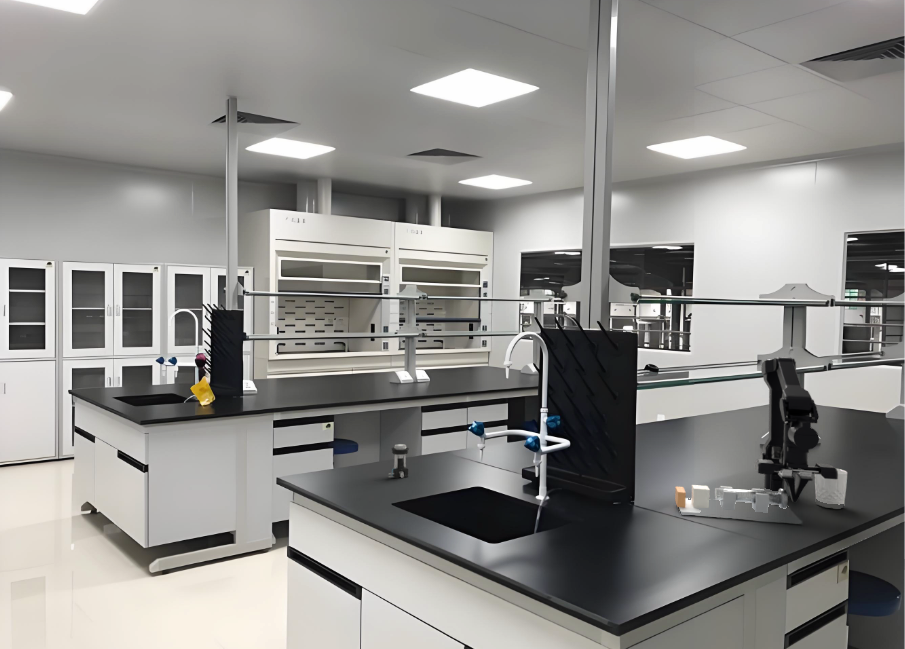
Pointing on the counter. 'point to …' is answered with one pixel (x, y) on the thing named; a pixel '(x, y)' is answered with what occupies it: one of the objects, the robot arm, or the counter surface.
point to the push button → (399, 461)
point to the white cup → (831, 488)
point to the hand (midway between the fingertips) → (794, 501)
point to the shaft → (750, 495)
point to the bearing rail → (722, 501)
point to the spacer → (700, 496)
